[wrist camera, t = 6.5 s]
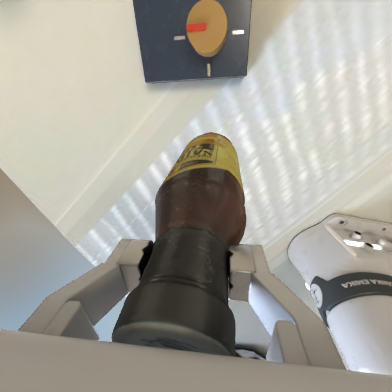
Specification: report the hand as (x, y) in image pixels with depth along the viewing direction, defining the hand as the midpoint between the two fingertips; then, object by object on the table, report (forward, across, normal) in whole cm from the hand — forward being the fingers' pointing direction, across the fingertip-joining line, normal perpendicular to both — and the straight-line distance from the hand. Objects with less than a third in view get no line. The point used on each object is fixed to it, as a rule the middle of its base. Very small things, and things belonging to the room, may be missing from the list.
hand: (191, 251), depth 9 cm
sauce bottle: (+16, 0, 0) cm, 16 cm away
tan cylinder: (+23, 0, +13) cm, 27 cm away
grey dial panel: (+26, -2, +13) cm, 29 cm away
